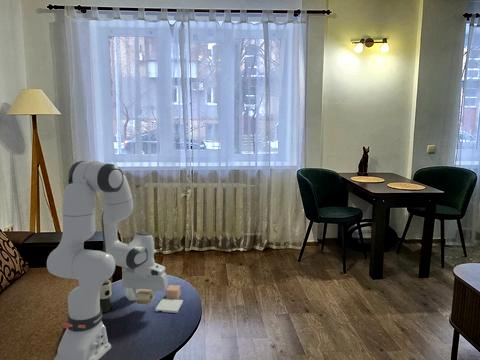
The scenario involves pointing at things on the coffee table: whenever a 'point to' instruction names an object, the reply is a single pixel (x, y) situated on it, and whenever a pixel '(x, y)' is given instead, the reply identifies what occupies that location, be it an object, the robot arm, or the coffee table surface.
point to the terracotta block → (173, 292)
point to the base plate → (169, 305)
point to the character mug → (105, 296)
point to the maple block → (144, 296)
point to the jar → (131, 293)
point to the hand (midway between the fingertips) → (145, 297)
